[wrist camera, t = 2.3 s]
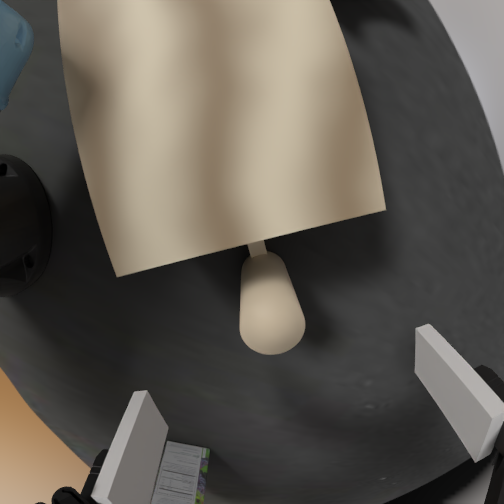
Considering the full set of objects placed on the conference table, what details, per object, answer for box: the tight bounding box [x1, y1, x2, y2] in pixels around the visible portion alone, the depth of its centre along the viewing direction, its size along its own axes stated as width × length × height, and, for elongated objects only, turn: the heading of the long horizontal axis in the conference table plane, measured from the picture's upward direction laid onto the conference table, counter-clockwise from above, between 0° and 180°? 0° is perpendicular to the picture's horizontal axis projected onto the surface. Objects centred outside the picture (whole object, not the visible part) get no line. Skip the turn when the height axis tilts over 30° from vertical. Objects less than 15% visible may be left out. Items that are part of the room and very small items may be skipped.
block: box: [240, 240, 305, 355], centre depth 21 cm, size 7×22×10 cm, turn 14°
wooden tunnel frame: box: [57, 0, 386, 277], centre depth 19 cm, size 14×18×12 cm
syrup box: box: [151, 441, 210, 504], centre depth 29 cm, size 6×6×14 cm
